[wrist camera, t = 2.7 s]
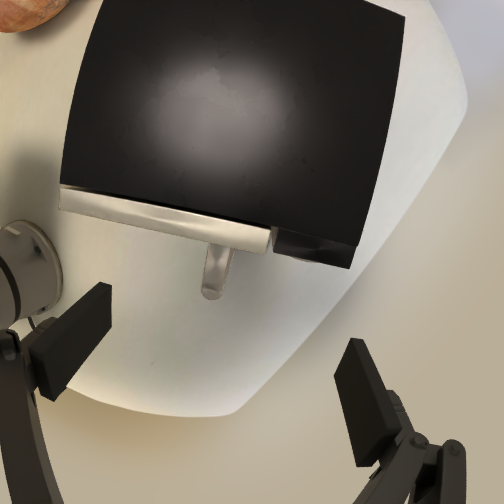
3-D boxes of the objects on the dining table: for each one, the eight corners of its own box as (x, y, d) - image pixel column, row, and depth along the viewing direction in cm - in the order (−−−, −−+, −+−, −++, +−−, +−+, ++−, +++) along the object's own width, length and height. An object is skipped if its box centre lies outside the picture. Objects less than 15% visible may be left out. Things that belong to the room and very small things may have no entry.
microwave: (308, 221, 36) (346, 282, 19) (145, 187, 35) (56, 217, 18) (342, 75, 30) (405, 16, 13) (177, 44, 30) (114, -26, 12)
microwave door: (254, 249, 37) (246, 328, 20) (140, 224, 37) (58, 278, 20) (267, 193, 35) (271, 230, 18) (147, 170, 34) (60, 187, 18)
